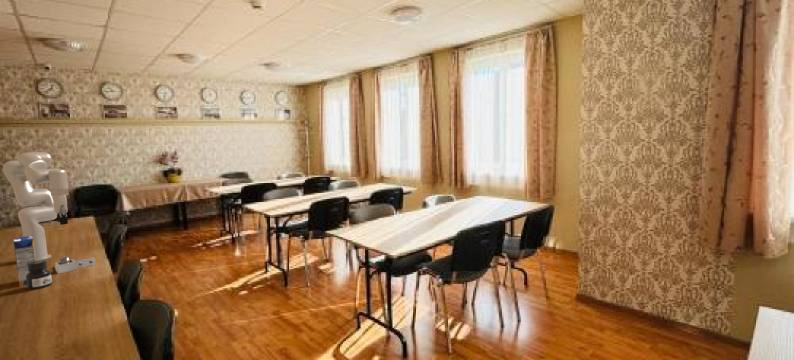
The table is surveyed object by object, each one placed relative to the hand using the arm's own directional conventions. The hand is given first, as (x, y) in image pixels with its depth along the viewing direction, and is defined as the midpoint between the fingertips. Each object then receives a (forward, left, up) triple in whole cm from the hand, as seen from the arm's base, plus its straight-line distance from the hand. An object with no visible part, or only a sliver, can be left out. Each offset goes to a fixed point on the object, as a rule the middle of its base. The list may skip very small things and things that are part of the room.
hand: (62, 222), depth 218 cm
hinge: (+4, +2, -25) cm, 25 cm away
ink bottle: (+29, -15, -25) cm, 41 cm away
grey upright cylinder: (+8, -2, -25) cm, 26 cm away
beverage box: (+15, -18, -25) cm, 34 cm away
